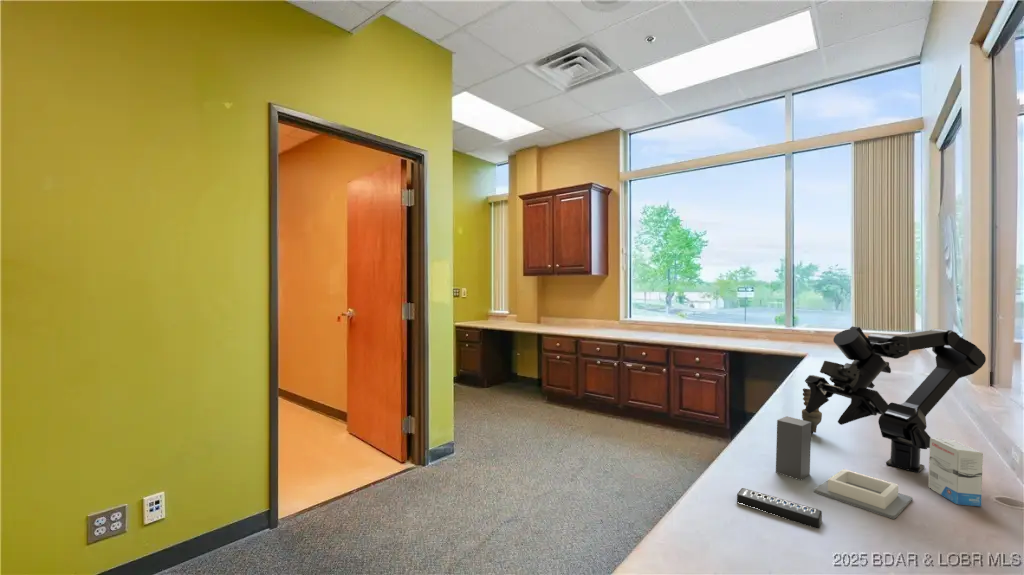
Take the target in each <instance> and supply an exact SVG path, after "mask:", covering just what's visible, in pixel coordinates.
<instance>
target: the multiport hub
mask: <svg viewBox="0 0 1024 575" xmlns="http://www.w3.org/2000/svg"><path fill="white" fill-rule="evenodd" d="M737 502H739V503H743V504H745V505H748V506H751V507H755V508H758V509H760V510H763V511H766V512H768V513H767V514H769V513H772V514H775V515H778V516H780V517H779V518H782V517H784V518H783V519H785V518H786V519H785V520H788V519H789V520H788V521H792V522H794V521H795V523H798V524H802V525H804V526H808V527H810V526H811V528H814V529H820V527H821V524H822V522H823V521H822V519H823V511H822V510H821V509H818V508H815V507H811V506H807V505H804V504H799V503H798V502H792V501H790V500H786V499H783V498H779V497H776V496H772V495H768V494H765V493H761V492H758V491H755V490H752V489H748V488H744V487H742V488H741V489H740V490H739V491H738V492H737V495H736V503H737ZM763 511H762V512H763ZM766 512H765V513H766ZM772 514H771V515H772ZM775 515H774V516H775ZM778 516H777V517H778Z"/></svg>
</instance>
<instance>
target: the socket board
mask: <svg viewBox="0 0 1024 575" xmlns="http://www.w3.org/2000/svg"><path fill="white" fill-rule="evenodd" d="M813 493H817V494H819V495H821V496H825V497H827V498H830V499H833V500H836V501H840V502H843V503H846V504H849V505H851V506H854V507H856V508H857V507H858V508H860V509H862V510H864V511H865V510H866V511H869V512H872V513H875V514H878V515H880V516H883V517H886V518H888V519H892V520H895V519H897V517H898V516H899V515H900V514H901V513H902V511H904V509H905V508H907V506H908V505H909V504H911V502H912V501H913V496H909V495H906V494H903V493H900V492H899V484H897V483H895V482H890V481H887V480H883V479H881V478H877V477H874V476H873V477H872V476H869V475H867V474H863V473H860V472H855V471H852V470H850V469H846V468H843V469H841V470H840V471H838V472H837V473H836V474H834V475H833V476H831V477H829V478H828V479H827V480H825V481H824V482H823V483H820V484H819V485H818V486H816V487H815V488H814V489H813ZM911 500H912V501H911Z"/></svg>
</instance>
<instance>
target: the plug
mask: <svg viewBox="0 0 1024 575" xmlns="http://www.w3.org/2000/svg"><path fill="white" fill-rule="evenodd" d="M811 441H812V434H811V422H809V421H805V420H803V419H800V418H795V417H791V416H783V417H781V418H778V419H777V420H776V445H775V446H776V450H775V452H776V453H775V456H776V457H775V473H777V472H778V473H777V474H780V473H781V474H780V475H783V474H784V475H783V476H786V475H787V476H786V477H789V476H791V477H790V478H792V477H793V479H795V478H797V479H796V480H798V479H800V480H799V481H802V480H803V478H804V479H805V478H807V477H809V476H810V475H811V474H810V473H811V446H812V444H811V443H812V442H811ZM801 479H802V480H801Z"/></svg>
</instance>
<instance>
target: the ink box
mask: <svg viewBox="0 0 1024 575" xmlns="http://www.w3.org/2000/svg"><path fill="white" fill-rule="evenodd" d="M983 455H984V453H983V452H981V451H979V450H977V449H975V448H972V447H971V446H968V445H966V444H964V443H961V442H959V441H957V440H954V439H952V438H951V439H949V438H938V437H931V438H930V448H929V459H928V460H929V461H928V488H929V489H930V488H931V489H930V490H932V491H934V492H935V491H936V492H935V493H937V494H939V495H941V496H942V497H944V498H946V499H947V500H949V501H950V502H952V503H954V504H955V505H958V506H972V507H982V495H983V492H982V491H983V490H982V489H983V465H984V464H983V462H984V460H983V459H984V456H983Z"/></svg>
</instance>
